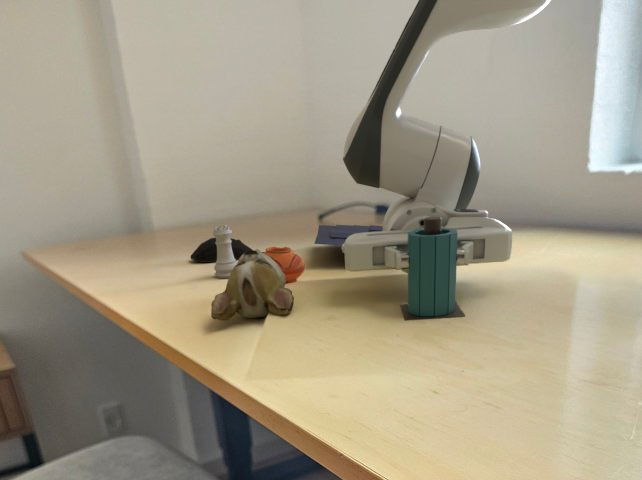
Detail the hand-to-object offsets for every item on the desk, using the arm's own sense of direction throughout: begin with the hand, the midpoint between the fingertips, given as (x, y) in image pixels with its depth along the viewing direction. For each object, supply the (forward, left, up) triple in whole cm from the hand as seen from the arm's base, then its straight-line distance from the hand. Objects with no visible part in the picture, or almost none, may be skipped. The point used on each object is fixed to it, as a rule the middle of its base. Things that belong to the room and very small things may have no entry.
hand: (433, 260), depth 75 cm
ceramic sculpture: (+22, -9, -8) cm, 25 cm away
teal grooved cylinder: (0, -1, -6) cm, 6 cm away
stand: (0, -1, -8) cm, 8 cm away
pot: (+20, -23, -8) cm, 31 cm away
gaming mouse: (+32, -51, -8) cm, 61 cm away
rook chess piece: (+30, -35, -8) cm, 47 cm away
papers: (0, -46, -8) cm, 47 cm away
